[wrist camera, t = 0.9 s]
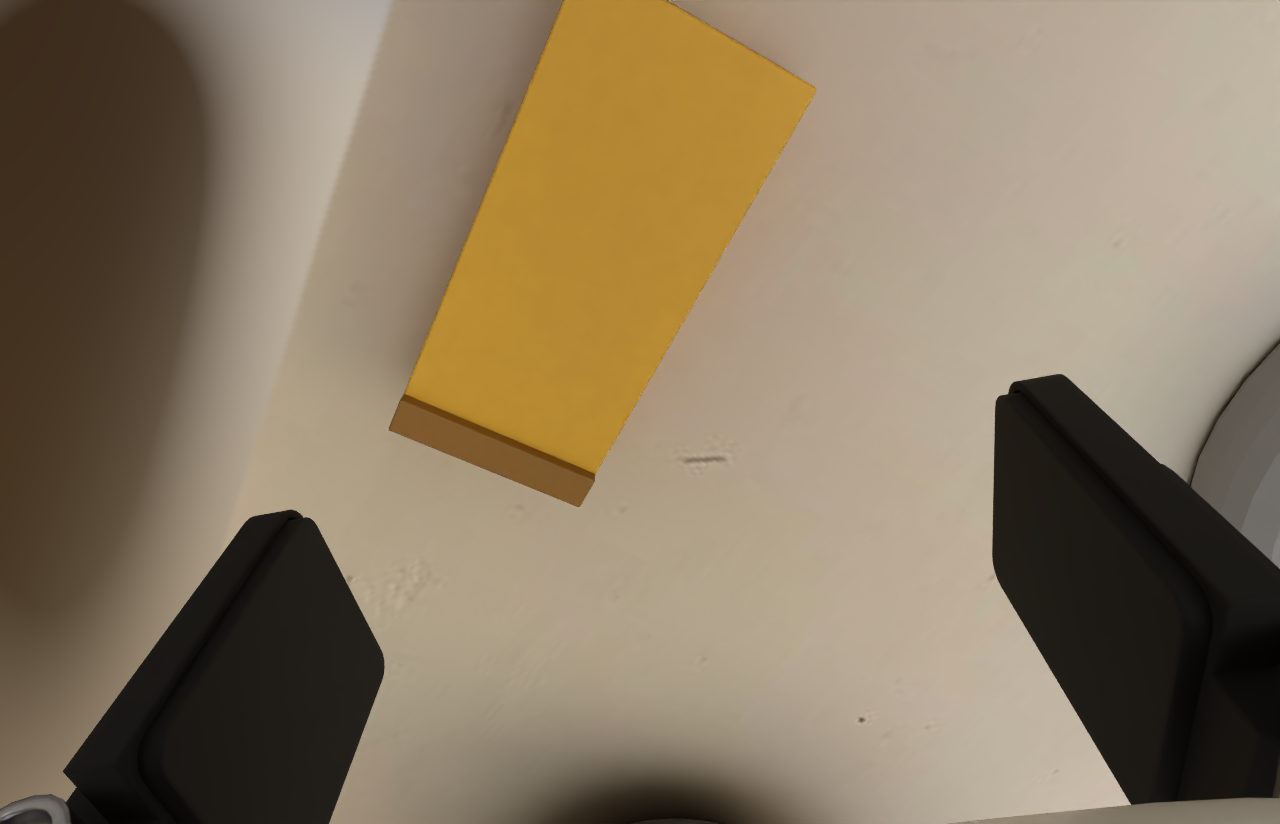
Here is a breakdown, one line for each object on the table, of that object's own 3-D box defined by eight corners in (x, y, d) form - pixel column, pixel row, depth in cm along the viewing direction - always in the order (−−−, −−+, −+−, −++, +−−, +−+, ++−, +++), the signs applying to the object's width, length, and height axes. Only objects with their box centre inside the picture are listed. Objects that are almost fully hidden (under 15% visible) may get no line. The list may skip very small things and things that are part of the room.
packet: (590, -45, 20) (581, -49, 17) (796, 76, 22) (821, 91, 19) (416, 380, 27) (387, 430, 24) (586, 452, 28) (579, 508, 25)
